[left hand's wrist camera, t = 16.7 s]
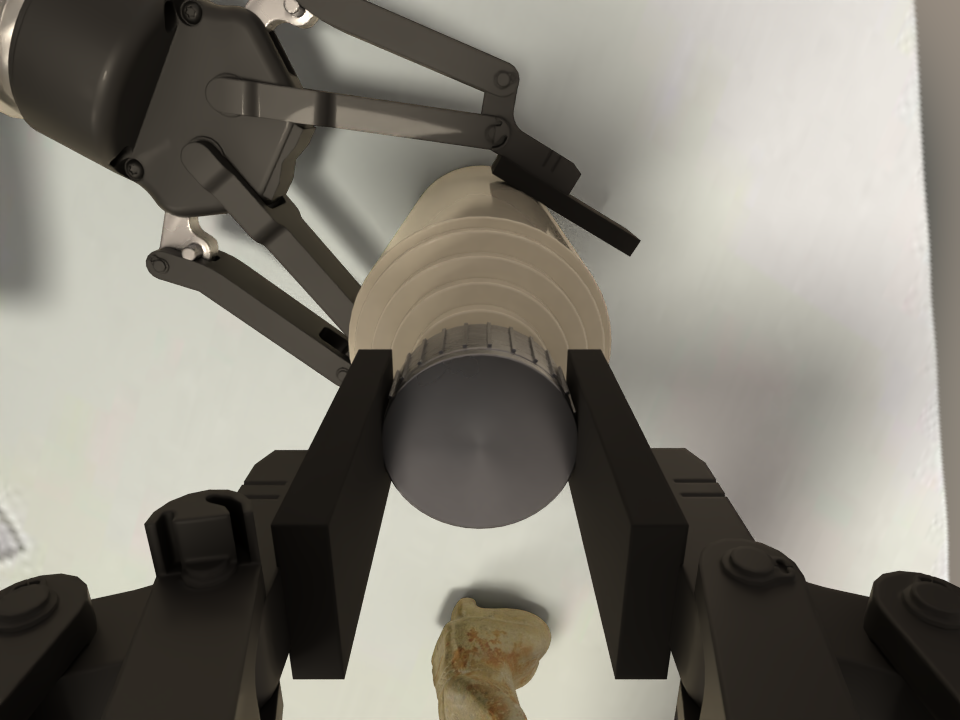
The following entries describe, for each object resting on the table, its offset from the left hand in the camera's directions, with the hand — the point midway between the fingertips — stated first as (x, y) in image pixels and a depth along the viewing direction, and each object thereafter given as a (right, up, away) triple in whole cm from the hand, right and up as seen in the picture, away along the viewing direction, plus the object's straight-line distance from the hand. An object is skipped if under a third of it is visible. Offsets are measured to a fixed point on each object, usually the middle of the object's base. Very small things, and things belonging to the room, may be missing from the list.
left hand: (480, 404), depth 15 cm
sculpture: (+1, -16, +28) cm, 32 cm away
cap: (0, -1, -2) cm, 2 cm away
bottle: (0, +7, +18) cm, 20 cm away
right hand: (+4, +3, +14) cm, 14 cm away
